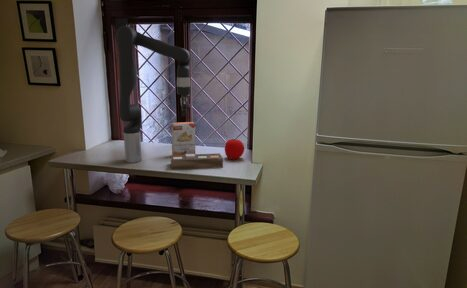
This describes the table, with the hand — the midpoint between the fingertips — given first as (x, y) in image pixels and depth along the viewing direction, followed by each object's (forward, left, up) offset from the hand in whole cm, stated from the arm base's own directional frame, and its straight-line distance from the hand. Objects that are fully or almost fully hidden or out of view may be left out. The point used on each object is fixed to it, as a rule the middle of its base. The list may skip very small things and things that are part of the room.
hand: (184, 116), depth 191 cm
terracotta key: (+8, +17, -25) cm, 31 cm away
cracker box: (-14, 0, -27) cm, 31 cm away
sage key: (+9, +10, -25) cm, 28 cm away
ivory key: (+8, -4, -25) cm, 27 cm away
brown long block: (+9, +6, -27) cm, 29 cm away
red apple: (-2, +30, -27) cm, 41 cm away
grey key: (+8, +3, -24) cm, 25 cm away
